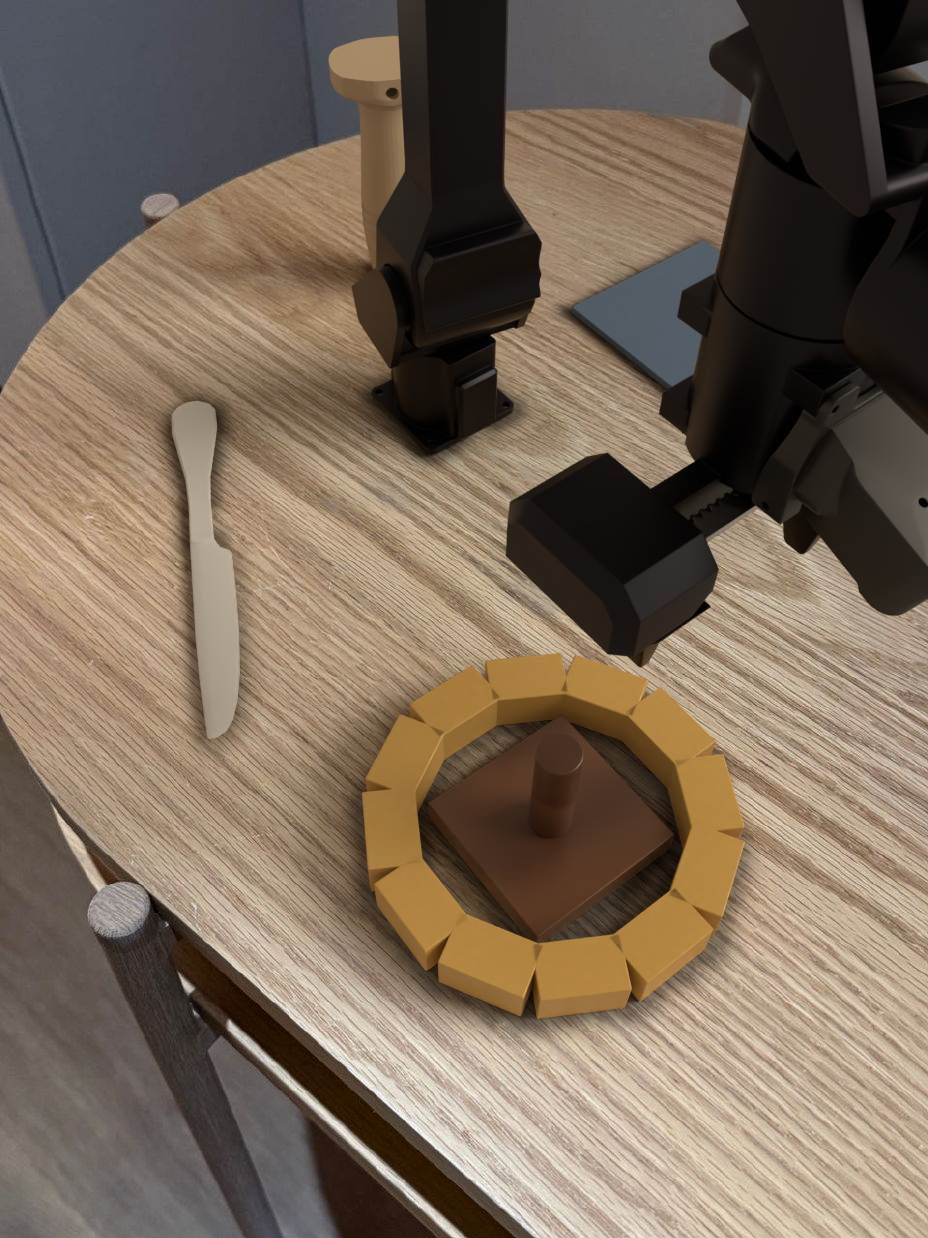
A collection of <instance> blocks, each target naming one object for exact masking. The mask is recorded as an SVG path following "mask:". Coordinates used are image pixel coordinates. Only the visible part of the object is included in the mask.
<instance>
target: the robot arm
mask: <svg viewBox="0 0 928 1238" xmlns="http://www.w3.org/2000/svg"><path fill="white" fill-rule="evenodd" d="M735 1H736V3H737V5H738V7H739V9H740V10H741V13H742V14H743V16H744V18H745V19H746V22H747V23H748V24H747V25H746V26H744V27H742V28H740V29H739V30H737V31H734V32H733V33H731V34H729V35H728V36H726V37H724V38H721V39H719V40H717V41H714V43H712V44H711V46H710V48H709V51H708V61H709V64H710V67H711V68H712V69H713V70H714V71H715V72H716V73H717V74H718V75H719V76H721V77H722V78H723V79H724V80H725V81H726V82H727V83H728V84H730V85H731V87H734V88H735V89H736V90H737V91H738V92H739V93H741V94H742V95H743V96H744V97H745V98H746V99H747V100H748V101H749V102H750V107H749V108H750V109H749V115H748V119H747V125H746V129H745V132H744V133H745V134H744V139H743V143H742V147H741V152H740V157H739V161H738V166H737V170H736V175H735V180H734V184H733V189H732V194H731V199H730V203H729V208H728V213H727V217H726V222H725V225H724V232H723V236H722V239H721V240H722V241H721V244H720V245H721V246H720V250H719V251H720V254H719V259H718V263H717V267H716V272H715V273H714V274H712V275H710V276H708V277H707V278H705V279H703V280H701V281H699V282H697V283H695V284H694V285H692V286H690V287H688V288H686V289H684V290H683V291H682V293H681V298H680V304H679V309H678V314H677V318H679V319H680V320H682V321H683V322H684V323H686V324H687V325H688V326H690V327H691V328H693V329H694V330H695V331H697V332H698V333H699V334H701V335H702V337H701V342H700V347H699V351H698V356H697V361H696V365H695V370H694V374H693V375H691V376H689V377H688V378H686V379H684V380H682V381H681V382H679V383H677V384H676V385H674V386H672V387H670V388H669V389H665V390H664V391H662V395H661V398H660V399H661V400H660V405H659V411H658V415H660V416H661V417H662V418H663V419H664V420H666V421H667V422H668V423H670V425H672V426H673V427H674V428H675V429H677V430H678V431H680V432H681V433H682V434H683V435H685V441H684V444H685V448H686V450H687V451H688V453H689V455H690V457H691V458H692V459H693V462H691V463H690V464H688V465H687V466H684V467H683V468H681V469H680V470H678V471H676V472H675V473H674V474H672V475H669V477H666V478H664V480H662V481H660V482H659V483H657V484H656V485H654V486H652V487H650V486H648V485H647V484H646V483H645V482H643V481H642V479H640V477H638V476H637V475H635V474H634V473H633V472H631V470H629V469H628V468H627V467H626V466H624V465H623V464H622V463H621V462H620V461H619V460H617V458H615V457H614V456H613V455H611V454H610V453H609V452H601V453H597V454H593V455H587V456H585V457H583V458H581V459H579V460H578V461H576V462H575V463H573V464H571V465H569V466H568V467H566V468H564V469H563V470H561V471H559V472H557V473H556V474H554V475H552V476H550V477H549V478H547V479H546V480H544V481H543V482H540V483H539V484H537V485H536V486H534V487H532V488H531V489H528V490H527V491H526V492H524V493H522V494H520V495H519V496H517V497H515V498H514V499H512V500H510V501H509V506H508V515H507V524H506V525H507V526H506V540H505V541H506V543H505V558H507V559H508V560H509V561H510V562H511V563H512V564H513V565H514V566H515V567H516V568H517V569H518V570H520V572H521V573H522V574H523V575H524V576H525V577H527V579H528V580H530V581H531V582H532V583H533V584H534V585H535V586H536V587H537V588H538V589H539V590H540V591H541V592H542V593H543V594H544V595H545V596H547V598H549V599H550V601H551V602H552V603H554V604H555V605H556V606H557V607H558V608H559V609H560V610H561V611H562V612H563V613H564V614H565V615H566V616H567V617H568V618H569V619H570V620H571V621H573V623H574V624H575V625H577V627H579V629H580V630H582V631H583V632H584V633H585V634H586V635H587V636H588V637H589V638H590V639H591V640H592V641H593V642H594V643H595V644H596V645H597V646H599V648H600V649H602V651H604V653H606V654H607V656H608V655H609V656H616V657H617V656H619V657H627V658H628V659H629V660H630V661H632V663H633V664H634V665H636V666H637V668H639V669H640V668H643V667H645V666H646V665H648V664H649V662H650V661H651V659H652V657H653V655H654V654H655V652H656V650H657V649H658V647H659V645H660V643H661V642H663V641H664V640H666V639H667V638H668V637H670V636H671V635H673V634H674V633H676V632H677V631H679V630H680V629H681V628H683V627H684V626H686V625H688V624H689V623H690V622H692V621H694V619H696V618H697V617H699V616H700V615H702V614H703V613H704V612H706V611H708V610H709V609H710V608H711V605H710V604H709V603H708V602H707V601H706V599H707V598H708V597H709V596H710V595H711V593H712V592H713V591H714V588H715V584H716V582H717V577H718V574H719V571H720V568H719V565H718V564H717V562H716V560H715V559H716V558H715V557H714V554H713V552H712V550H711V548H710V545H709V542H710V541H712V540H713V539H715V538H716V537H718V536H720V535H721V534H722V533H724V532H725V531H727V530H729V529H730V528H732V527H733V526H735V525H736V524H737V523H739V522H740V521H742V520H743V519H745V518H747V517H748V516H749V515H751V514H752V513H754V512H756V511H757V510H758V509H759V510H760V511H762V513H764V514H766V516H768V517H769V518H770V519H772V521H774V522H775V523H777V524H778V525H780V526H781V525H782V531H783V532H782V533H783V541H784V543H785V544H786V545H787V546H789V547H790V548H791V549H793V551H795V552H796V553H797V554H799V555H805V554H806V553H808V552H809V551H811V549H812V548H814V546H815V545H816V544H817V543H818V542H819V540H821V541H823V542H824V544H825V545H826V547H828V549H829V550H830V551H831V553H832V554H833V555H834V557H835V558H836V559H837V560H838V561H839V563H840V564H841V565H842V567H843V568H844V569H845V570H846V571H847V573H848V574H849V575H850V577H851V578H852V579H853V580H854V581H855V583H856V585H857V590H858V593H859V595H861V597H862V598H863V599H864V601H865V602H866V603H867V604H868V605H869V606H870V607H871V608H873V609H874V610H875V611H877V612H878V613H880V614H882V615H884V616H889V617H896V616H902V615H905V614H907V613H909V612H910V611H911V610H913V609H915V608H916V607H917V606H920V605H921V604H923V603H924V602H926V601H927V600H928V80H927V79H926V78H924V77H923V76H922V75H920V74H919V73H918V72H917V71H915V70H913V68H911V67H910V66H913V65H917V64H920V63H925V62H927V61H928V0H735ZM509 2H510V1H509V0H396V16H397V18H396V19H397V36H398V38H399V58H400V77H401V97H402V117H403V137H404V157H405V172H404V174H403V176H402V177H401V179H400V181H399V183H398V185H397V186H396V188H395V190H394V192H393V193H392V195H391V197H390V199H389V200H388V202H387V204H386V206H385V207H384V209H383V211H382V213H381V214H380V216H379V218H378V220H377V224H376V269H373V268H372V270H370V271H369V272H368V273H366V274H365V275H364V276H363V277H361V278H360V279H359V280H357V281H356V282H355V283H353V284H352V285H351V292H352V298H353V302H354V306H355V311H356V317H357V320H358V323H359V324H360V326H361V328H362V329H363V331H364V332H365V334H366V336H367V337H368V339H369V340H370V341H371V343H372V344H373V346H374V348H375V349H376V351H377V352H378V354H379V355H380V357H381V359H382V360H383V361H384V363H385V365H386V366H387V367H388V369H390V378H391V379H389V380H386V381H384V382H383V383H380V384H379V385H376V386H374V387H373V388H372V389H371V390H370V395H371V396H370V397H371V400H372V401H373V403H375V404H376V405H377V406H378V407H379V408H380V409H381V410H382V411H383V412H384V413H385V414H386V415H387V416H388V417H389V418H390V419H391V420H392V421H393V422H394V423H395V424H396V425H397V426H398V427H400V429H401V430H402V431H404V433H405V434H406V435H407V436H408V437H409V438H411V439H412V441H414V443H415V444H416V445H418V446H419V447H420V449H421V450H423V452H425V453H426V454H428V455H436V454H438V453H440V452H442V451H444V450H446V449H448V448H450V447H452V446H454V445H455V444H457V443H459V442H461V441H463V440H465V439H466V438H468V437H471V436H472V435H474V434H476V433H478V432H480V431H482V430H483V429H485V428H487V427H489V426H491V425H493V424H495V423H497V422H498V421H500V420H502V419H504V418H506V417H508V416H509V415H511V414H513V413H514V410H515V409H514V408H515V407H514V406H515V405H514V404H515V403H514V402H513V400H512V399H510V398H509V397H508V396H507V395H506V394H505V393H503V392H502V391H501V390H500V389H499V388H498V369H497V367H496V350H497V340H496V338H495V337H493V336H492V335H496V334H498V333H502V332H506V331H509V330H511V329H514V330H517V329H520V328H523V327H525V325H526V323H527V320H528V317H529V315H530V314H531V312H532V311H533V308H534V306H535V303H536V299H539V298H541V296H542V292H541V285H540V282H541V278H542V271H541V267H540V259H541V254H542V253H541V252H542V248H543V242H542V240H541V238H540V236H539V234H538V233H537V231H536V230H535V229H533V226H532V225H531V223H530V222H529V220H528V219H527V217H526V216H525V214H524V213H523V211H522V210H521V208H520V207H519V205H518V204H517V203H516V201H515V199H514V198H513V197H512V195H511V194H510V192H509V191H508V189H507V188H506V182H505V181H506V180H505V164H506V163H505V162H506V161H505V159H506V123H507V122H506V121H507V120H506V119H507V117H506V116H507V85H508V84H507V82H508V81H507V78H508V41H509V40H508V37H509Z"/></svg>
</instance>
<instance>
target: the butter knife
mask: <svg viewBox="0 0 928 1238" xmlns="http://www.w3.org/2000/svg"><path fill="white" fill-rule="evenodd" d="M216 412H217V411H216V409H215V407H213V406H212V405H211V403H208V402H204V401H200V400H192V401H187V402H185V403H182V404H180V405H178V406H177V407H176V408H175V409H174V411H173V412H172V413H171V435H172V439H173V442H174V446H175V449H176V453H177V457H178V460H179V465H180V467H181V470H182V471H181V472H182V473H183V477H184V480H185V489H186V497H187V505H188V529H189V545H190V546H189V547H190V567H191V584H192V599H193V602H192V603H193V618H194V633H195V646H196V655H197V667H198V677H199V684H200V693H201V702H202V709H203V710H202V711H203V718H204V726H205V731H206V732H205V733H206V738H207V739H208V740H209V739H217V738H218V737H220V736H222V735H223V734H225V733H226V732H228V730H229V728H230V726H231V724H232V722H233V720H234V716H235V712H236V708H237V704H238V699H239V686H240V675H241V674H240V672H241V670H240V669H241V667H240V664H241V663H240V626H239V625H240V624H239V615H238V614H239V613H238V602H237V589H236V580H235V579H236V578H235V571H234V563H233V562H234V561H233V553H232V552H231V550H229V549H227V548H225V547H222V546H220V545H219V544H218V542H217V541H216V539H215V535H214V534H215V533H214V526H213V524H214V523H213V513H212V512H213V511H212V495H211V493H212V492H211V475H212V467H213V463H214V462H213V461H214V455H215V447H216V440H217V439H216V438H217V431H218V423H217V414H216Z"/></svg>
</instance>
